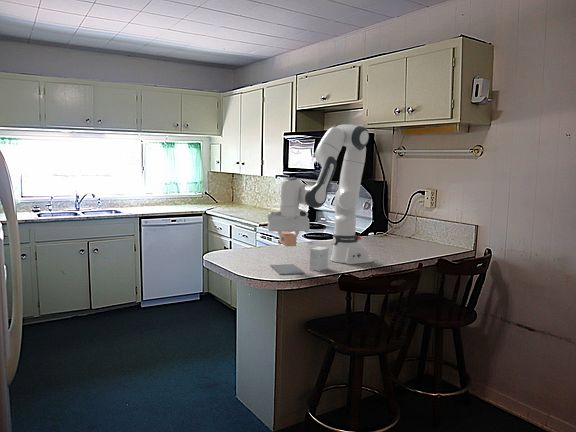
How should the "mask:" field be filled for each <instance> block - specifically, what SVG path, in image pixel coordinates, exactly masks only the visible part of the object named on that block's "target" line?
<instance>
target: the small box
mask: <svg viewBox="0 0 576 432" xmlns="http://www.w3.org/2000/svg"><path fill="white" fill-rule="evenodd" d="M309 250H310V252H309V253H310V254H309V270H311V271H316V272H320V271H324V270H327V269H328V268H329V247H325V246H317V247H312V248H310V249H309Z"/></svg>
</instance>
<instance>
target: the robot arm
mask: <svg viewBox="0 0 576 432" xmlns="http://www.w3.org/2000/svg"><path fill="white" fill-rule="evenodd" d="M369 139H370V133H369V130H368V129H367V128H366V127H364V126H361V125H356V124H355V125H354V124H350V123H349V124H347V123H345V124H341V123H337V124H334V125H333V126H331V127H329V128H328V129H327V130H326V132H324V135H323V136H322V138H321V139H320V141H319V143H318V145H317V147H316V149H315V152H314V157H315V159H316V161H317V163H318V164H320V166H321V171H320V173H319V176H318V178H317V181H316V182H315V184H314V185H308V184H306V183H304V182H303V181H301V180H300V179H299V178H298V177H287V178H284V179H283V180H282V182H281V187H280V204H279V211H271V212H269V213H268V214H267V220H268V221H267V230H268V231H269V232H271V233H273V232H277V235H278V238H279V237H280V241H283V239H284V237H282V236H281V234H282V232H294V233H295V234H294V235H296V236H297V237H298V236H299V234H300V232H309V230H310V218H309V217H308V216H309V212H307V211H306V210H303V209H301V208H300V207H299V206H300V205H304V206H309V207H311V208H313V209H319V208H321V207H322V206H324V204H325V203H326V200H327V197H328V191H329V187H330V184H331V183H332V180H333V177H334V175H335V172H336V169H337V160H338V157H339V154H341V153H340V152H341V151H342V148H343V147H345V148H346V149H345V153H344V156H343V161H342V165H341V170H340V175H339V182H338V189H337V191H336V192H335V195H334V231H333V232H334V233H333V234H332V235H333V236H332V244H333V246H332V252H331V255H330V259H329V260H330V261H331V262H335V263H340V264H347V265H355V264H356V265H357V264H366V263H368V264H369V263H372V262H373V259H372V257H369V251H368V249H367V248H366V247H365V246H364V245H363V244H362V243H360V242H359V241H361V240H362V238H363V237H362V236H361V235H357V234H356V225H357V224H356V223H357V217H356V206H357V204H358V202H359V198H360V191H361V183H362V177H363V173H364V167H365V163H366V157H367V156H366V154H367V147H366V146H367V144H368V142H369Z"/></svg>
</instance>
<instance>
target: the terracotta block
mask: <svg viewBox="0 0 576 432" xmlns="http://www.w3.org/2000/svg"><path fill="white" fill-rule="evenodd" d="M281 236H282V237H284V239H283V241H280V237H279V236H278V241H279V243H280V244H282V245H283V246H285V247H297V237H298V236H296V235H295V234H294V233H292V231H287V232H282V234H281Z"/></svg>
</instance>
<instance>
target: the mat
mask: <svg viewBox="0 0 576 432" xmlns="http://www.w3.org/2000/svg"><path fill="white" fill-rule="evenodd" d="M269 266H270V268H271V269H273V270H274V271H275V272H276V273H277V274H279V275H280V276H286V275H287V276H288V275H291V276H292V275H305V274H306V273H305V272H304V271H303V270H302V269H300V268H299V267H298V266H296V264H294V263H289V264H288V263H287V264H285V263H284V264H282V263H281V264H270V265H269Z"/></svg>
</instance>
